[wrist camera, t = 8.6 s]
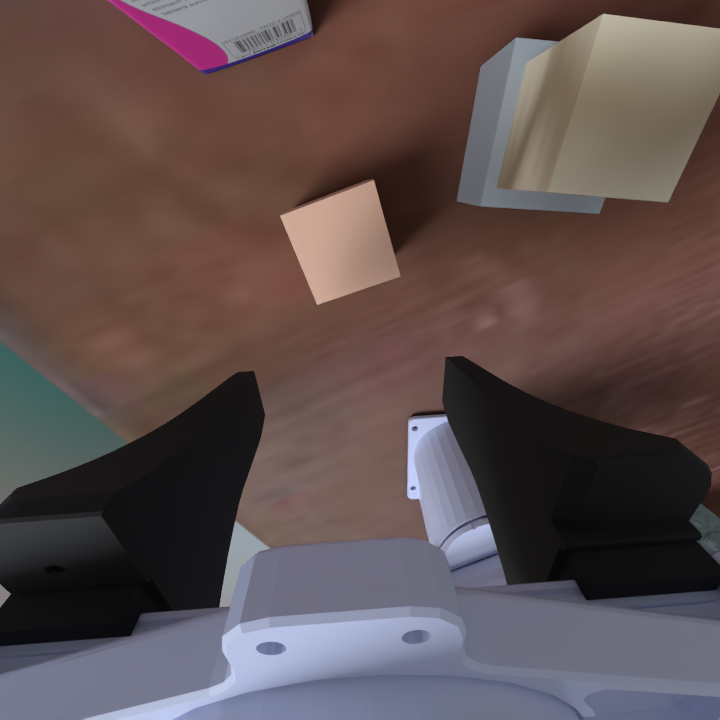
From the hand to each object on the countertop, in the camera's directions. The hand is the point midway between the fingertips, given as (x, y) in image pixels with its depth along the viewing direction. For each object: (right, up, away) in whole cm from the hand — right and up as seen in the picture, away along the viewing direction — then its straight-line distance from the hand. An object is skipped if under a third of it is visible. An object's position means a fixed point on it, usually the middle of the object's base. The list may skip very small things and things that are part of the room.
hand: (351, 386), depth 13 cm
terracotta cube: (-1, +9, +7) cm, 11 cm away
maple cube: (+9, +11, +2) cm, 14 cm away
